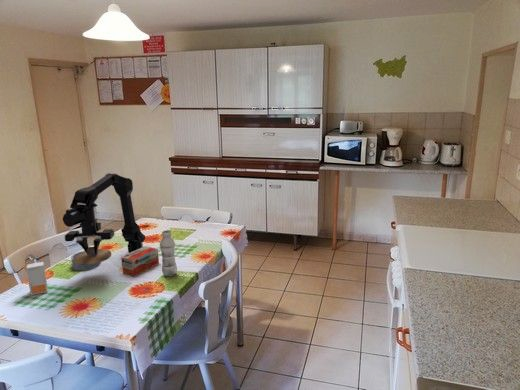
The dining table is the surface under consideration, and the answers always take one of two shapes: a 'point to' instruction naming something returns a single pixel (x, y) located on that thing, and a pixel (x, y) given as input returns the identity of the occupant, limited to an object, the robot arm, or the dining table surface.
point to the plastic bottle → (168, 254)
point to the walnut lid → (92, 256)
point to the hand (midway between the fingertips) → (92, 253)
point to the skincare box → (37, 278)
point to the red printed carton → (140, 260)
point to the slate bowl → (83, 267)
